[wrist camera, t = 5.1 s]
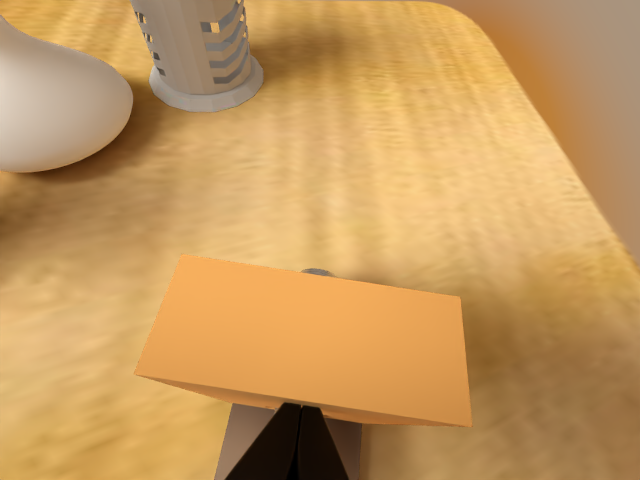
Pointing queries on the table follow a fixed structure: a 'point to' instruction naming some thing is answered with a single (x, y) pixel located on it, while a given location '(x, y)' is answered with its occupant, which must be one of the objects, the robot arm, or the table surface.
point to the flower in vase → (55, 103)
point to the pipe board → (253, 419)
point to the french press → (199, 53)
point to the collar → (311, 344)
